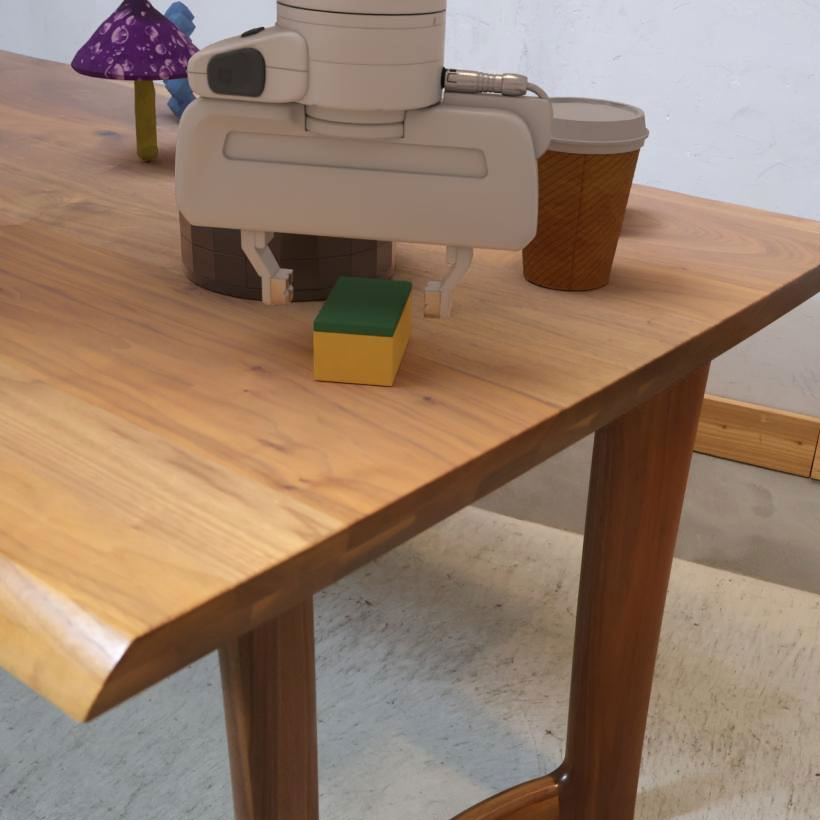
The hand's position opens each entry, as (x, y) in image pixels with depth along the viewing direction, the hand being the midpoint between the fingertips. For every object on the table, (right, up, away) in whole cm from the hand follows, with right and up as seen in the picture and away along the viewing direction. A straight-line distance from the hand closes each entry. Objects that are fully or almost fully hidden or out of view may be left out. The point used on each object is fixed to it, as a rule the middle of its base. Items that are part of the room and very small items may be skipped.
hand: (357, 308), depth 67 cm
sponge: (0, -3, +1) cm, 3 cm away
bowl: (-6, +5, +16) cm, 18 cm away
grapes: (-25, +29, +61) cm, 72 cm away
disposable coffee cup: (+14, +4, +17) cm, 22 cm away
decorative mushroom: (-23, +19, +42) cm, 52 cm away
